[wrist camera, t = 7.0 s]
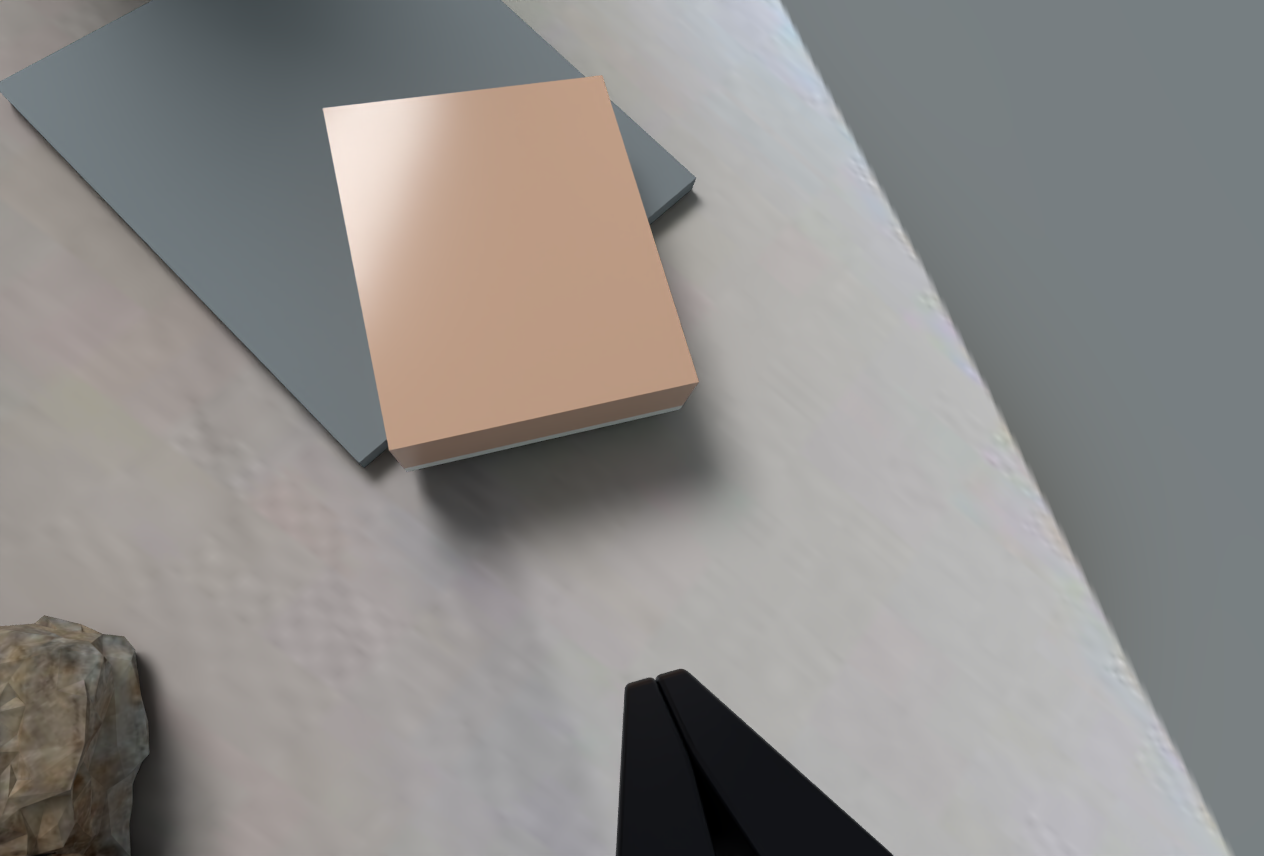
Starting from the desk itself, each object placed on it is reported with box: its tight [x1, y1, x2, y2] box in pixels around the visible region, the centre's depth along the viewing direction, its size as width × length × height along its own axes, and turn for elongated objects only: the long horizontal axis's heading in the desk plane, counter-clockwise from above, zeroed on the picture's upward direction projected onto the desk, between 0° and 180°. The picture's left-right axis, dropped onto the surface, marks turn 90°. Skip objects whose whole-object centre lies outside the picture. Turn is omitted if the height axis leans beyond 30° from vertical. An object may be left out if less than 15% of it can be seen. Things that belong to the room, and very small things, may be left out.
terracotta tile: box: [323, 75, 699, 472], centre depth 19 cm, size 2×8×10 cm
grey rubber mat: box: [0, 0, 696, 467], centre depth 22 cm, size 16×14×1 cm
